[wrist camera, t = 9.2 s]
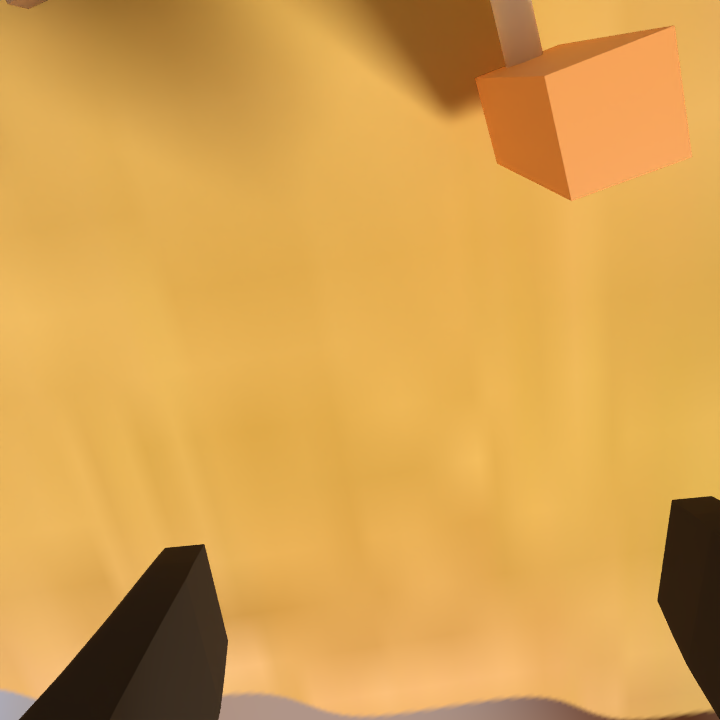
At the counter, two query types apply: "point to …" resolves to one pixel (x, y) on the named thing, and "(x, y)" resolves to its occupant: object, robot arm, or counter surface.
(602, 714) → the counter surface
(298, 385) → the counter surface
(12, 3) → the lane shelf
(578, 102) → the rod with orange block
